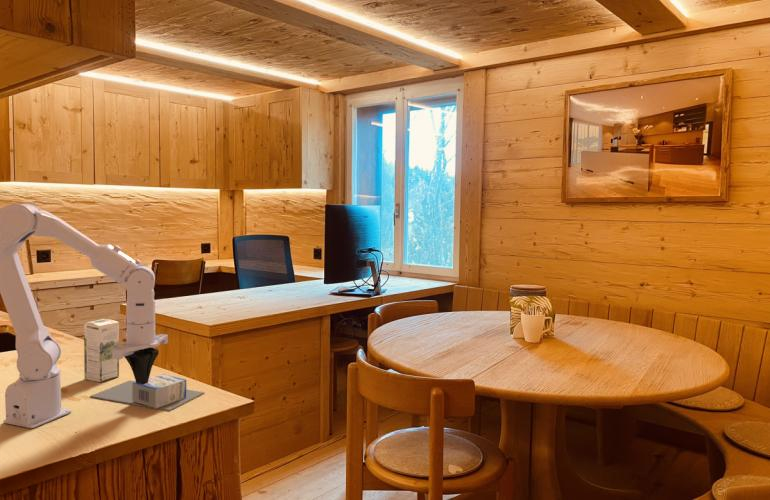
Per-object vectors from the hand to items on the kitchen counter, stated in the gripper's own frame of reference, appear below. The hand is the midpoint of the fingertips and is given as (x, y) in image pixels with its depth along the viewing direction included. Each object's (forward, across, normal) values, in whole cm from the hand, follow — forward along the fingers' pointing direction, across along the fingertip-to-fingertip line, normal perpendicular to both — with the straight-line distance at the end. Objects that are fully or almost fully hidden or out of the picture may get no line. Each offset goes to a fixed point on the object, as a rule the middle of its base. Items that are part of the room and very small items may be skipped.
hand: (142, 383), depth 125 cm
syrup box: (+6, +12, +23) cm, 26 cm away
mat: (+5, +6, +4) cm, 9 cm away
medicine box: (+3, 0, 0) cm, 3 cm away
